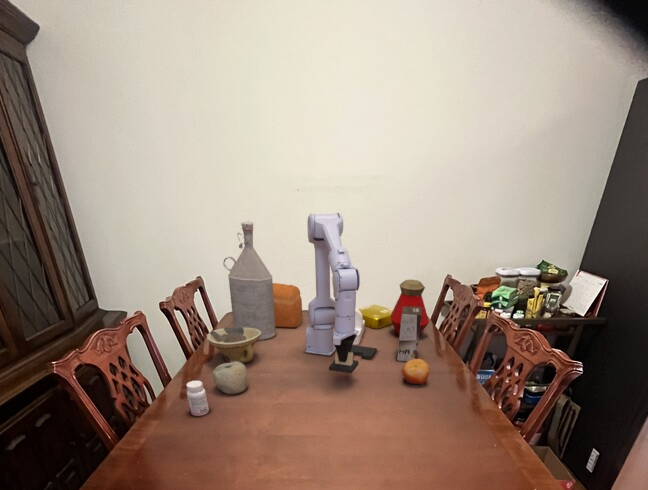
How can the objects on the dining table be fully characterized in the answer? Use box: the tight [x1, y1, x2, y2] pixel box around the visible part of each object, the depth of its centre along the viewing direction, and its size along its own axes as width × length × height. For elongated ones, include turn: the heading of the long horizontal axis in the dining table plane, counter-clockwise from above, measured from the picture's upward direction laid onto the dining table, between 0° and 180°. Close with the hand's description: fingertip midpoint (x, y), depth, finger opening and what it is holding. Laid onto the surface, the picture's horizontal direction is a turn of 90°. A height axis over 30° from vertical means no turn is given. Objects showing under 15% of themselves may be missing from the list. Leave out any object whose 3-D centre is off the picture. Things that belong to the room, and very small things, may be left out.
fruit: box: [401, 358, 430, 385], centre depth 126 cm, size 8×8×8 cm
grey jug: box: [222, 220, 277, 341], centre depth 151 cm, size 13×17×40 cm
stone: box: [211, 362, 249, 395], centre depth 121 cm, size 10×10×10 cm
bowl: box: [206, 326, 261, 364], centre depth 139 cm, size 18×18×10 cm
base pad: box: [351, 344, 378, 360], centre depth 146 cm, size 10×8×1 cm
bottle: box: [390, 279, 430, 337], centre depth 157 cm, size 16×14×20 cm
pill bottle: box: [186, 380, 210, 417], centre depth 109 cm, size 5×5×8 cm
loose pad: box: [328, 350, 360, 375], centre depth 124 cm, size 7×9×5 cm
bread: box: [273, 282, 303, 328], centre depth 170 cm, size 14×26×16 cm, turn 79°
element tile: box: [357, 304, 393, 330], centre depth 174 cm, size 15×15×5 cm
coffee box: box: [396, 306, 422, 362], centre depth 139 cm, size 9×6×16 cm
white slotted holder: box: [353, 307, 365, 346], centre depth 158 cm, size 10×18×11 cm, turn 169°
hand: (344, 359), depth 123 cm, fingers closed on loose pad
